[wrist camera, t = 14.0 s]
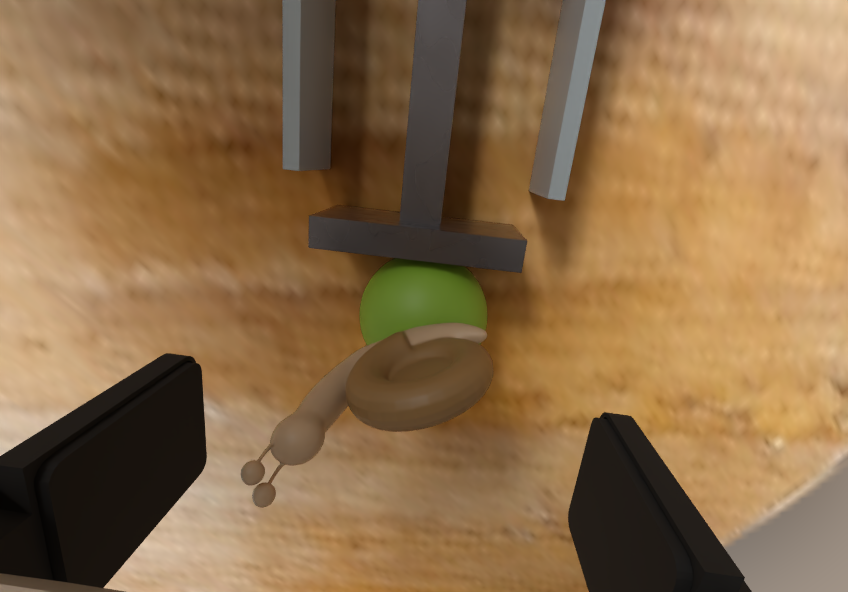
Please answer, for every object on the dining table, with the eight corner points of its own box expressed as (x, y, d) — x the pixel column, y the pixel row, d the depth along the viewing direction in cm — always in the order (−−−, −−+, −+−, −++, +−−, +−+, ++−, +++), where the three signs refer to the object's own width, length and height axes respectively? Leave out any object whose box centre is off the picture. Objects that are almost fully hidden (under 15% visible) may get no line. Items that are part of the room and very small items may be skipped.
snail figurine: (338, 264, 20) (190, 395, 9) (466, 226, 19) (482, 320, 8) (374, 361, 22) (286, 580, 10) (495, 331, 21) (543, 536, 9)
